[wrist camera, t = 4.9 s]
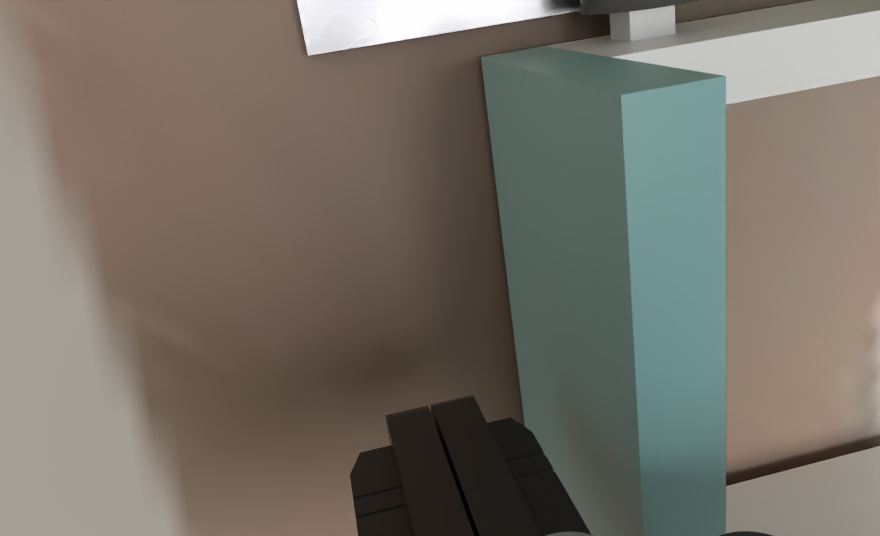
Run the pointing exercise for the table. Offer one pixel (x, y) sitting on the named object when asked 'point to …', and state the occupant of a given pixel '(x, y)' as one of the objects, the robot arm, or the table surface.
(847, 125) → the table surface
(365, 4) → the rails
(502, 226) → the cart
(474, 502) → the robot arm
